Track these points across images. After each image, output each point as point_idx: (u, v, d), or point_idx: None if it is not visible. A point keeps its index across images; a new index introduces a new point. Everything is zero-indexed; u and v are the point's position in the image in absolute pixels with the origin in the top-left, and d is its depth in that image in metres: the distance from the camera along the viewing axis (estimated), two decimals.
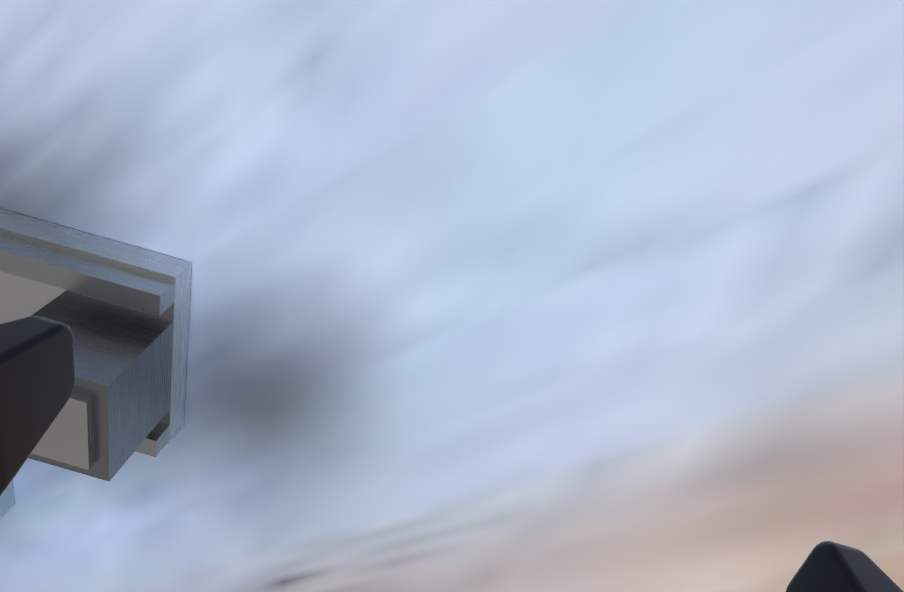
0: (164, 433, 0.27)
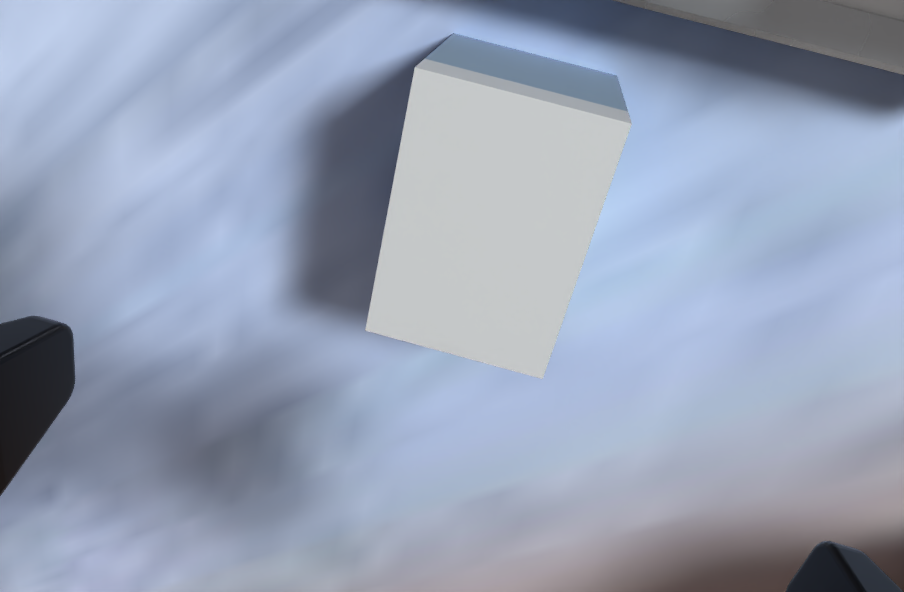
0: None
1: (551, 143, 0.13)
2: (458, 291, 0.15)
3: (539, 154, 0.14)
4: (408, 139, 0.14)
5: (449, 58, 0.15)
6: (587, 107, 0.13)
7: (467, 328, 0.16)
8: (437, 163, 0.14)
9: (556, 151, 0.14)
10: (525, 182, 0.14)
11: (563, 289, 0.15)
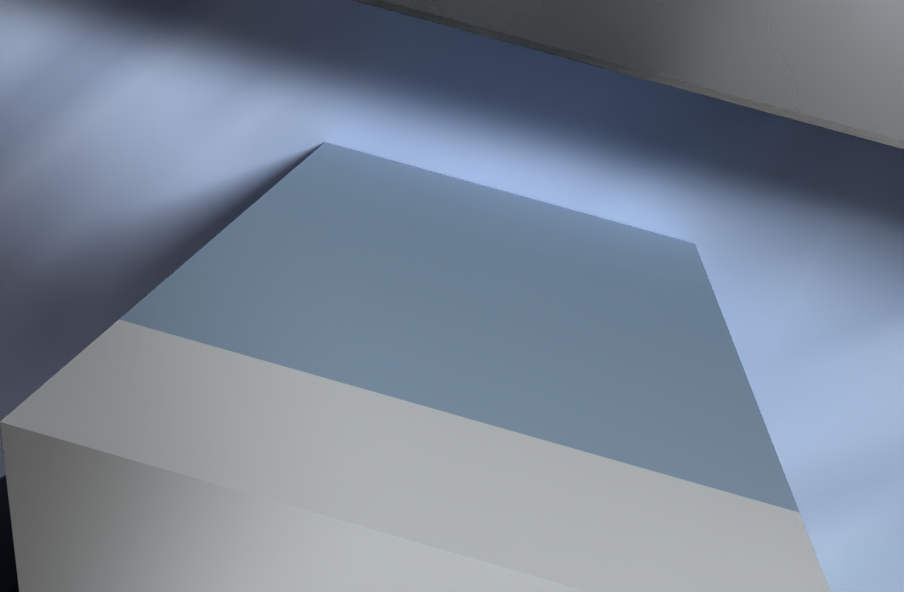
0: None
1: None
2: None
3: None
4: None
5: (229, 289, 0.05)
6: (672, 550, 0.04)
7: None
8: None
9: None
10: None
11: None
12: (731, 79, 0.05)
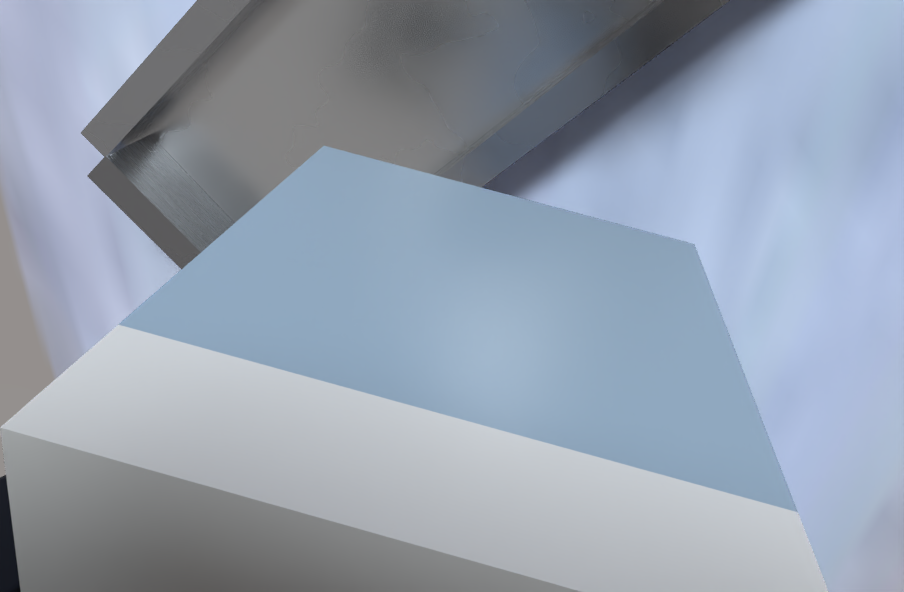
0: None
1: None
2: None
3: None
4: None
5: (229, 293, 0.05)
6: (670, 551, 0.04)
7: None
8: None
9: None
10: None
11: None
12: (514, 157, 0.16)
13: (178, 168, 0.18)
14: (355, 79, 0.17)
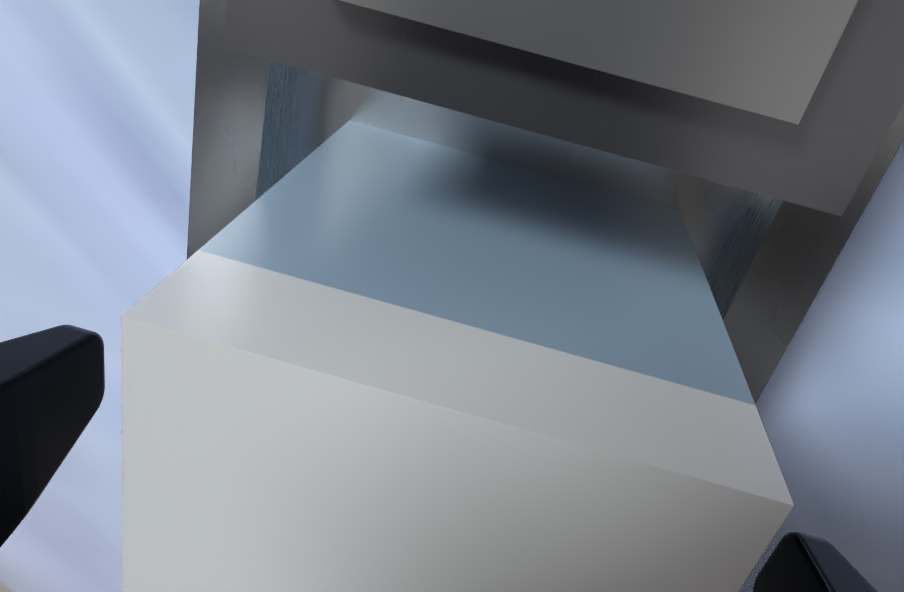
0: None
1: (542, 529, 0.05)
2: None
3: (507, 550, 0.05)
4: (140, 486, 0.05)
5: (283, 231, 0.06)
6: (650, 424, 0.05)
7: None
8: (228, 542, 0.05)
9: (555, 548, 0.05)
10: None
11: None
12: None
13: None
14: None
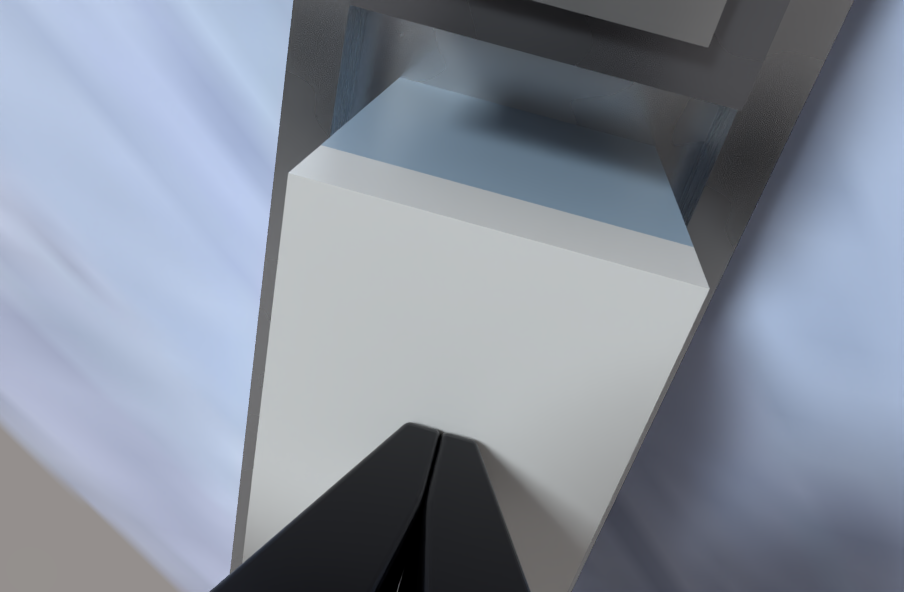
0: None
1: (552, 315, 0.07)
2: None
3: (529, 333, 0.07)
4: (286, 297, 0.07)
5: (371, 139, 0.08)
6: (621, 248, 0.07)
7: None
8: (342, 339, 0.08)
9: (561, 330, 0.07)
10: (504, 376, 0.07)
11: (571, 544, 0.08)
12: (670, 372, 0.12)
13: None
14: None
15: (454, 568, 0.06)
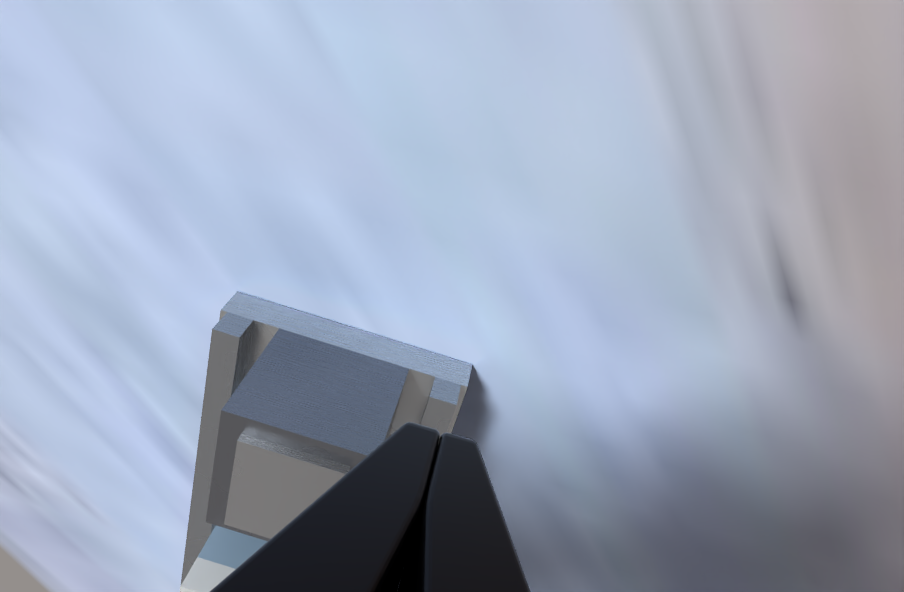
0: (437, 385, 0.20)
1: None
2: None
3: None
4: None
5: (221, 544, 0.20)
6: None
7: None
8: None
9: None
10: None
11: None
12: None
13: None
14: None
15: (453, 568, 0.06)
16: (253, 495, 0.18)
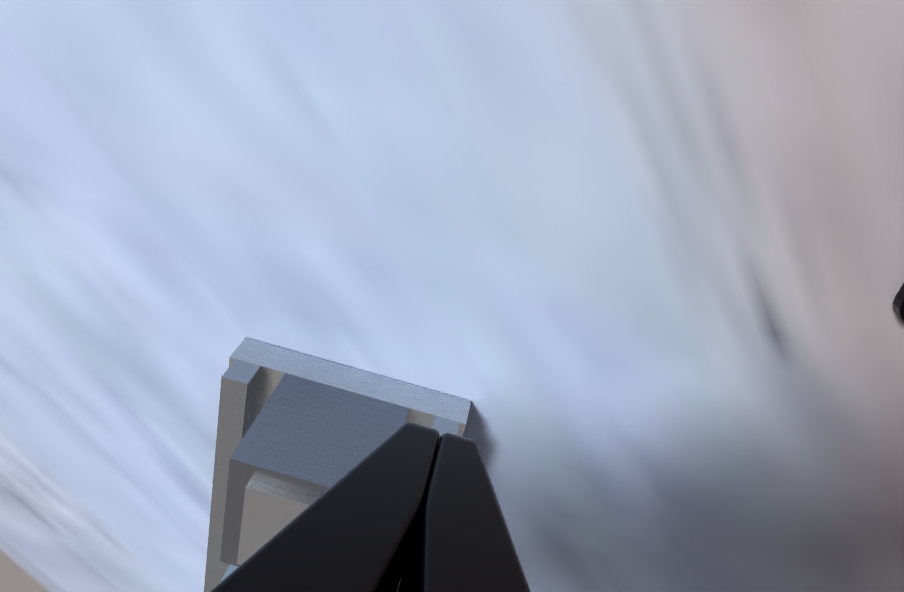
0: (436, 424, 0.21)
1: None
2: None
3: None
4: None
5: None
6: None
7: None
8: None
9: None
10: None
11: None
12: None
13: None
14: None
15: (454, 568, 0.06)
16: (262, 536, 0.19)
